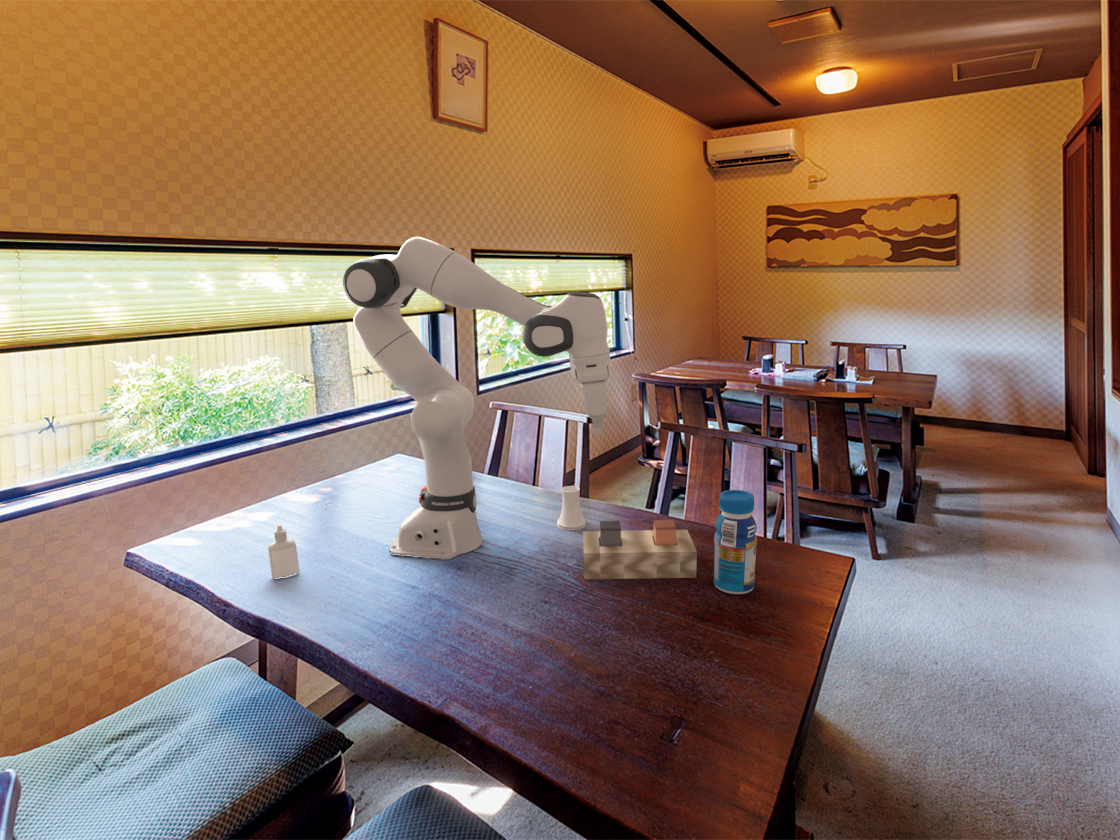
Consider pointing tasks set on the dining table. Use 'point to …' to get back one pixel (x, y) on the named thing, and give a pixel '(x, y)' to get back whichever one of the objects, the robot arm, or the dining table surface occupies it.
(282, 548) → the eye dropper bottle
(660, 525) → the terracotta plug
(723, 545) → the beverage bottle
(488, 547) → the dining table surface
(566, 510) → the vase
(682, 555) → the maple housing
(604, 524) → the charcoal plug
